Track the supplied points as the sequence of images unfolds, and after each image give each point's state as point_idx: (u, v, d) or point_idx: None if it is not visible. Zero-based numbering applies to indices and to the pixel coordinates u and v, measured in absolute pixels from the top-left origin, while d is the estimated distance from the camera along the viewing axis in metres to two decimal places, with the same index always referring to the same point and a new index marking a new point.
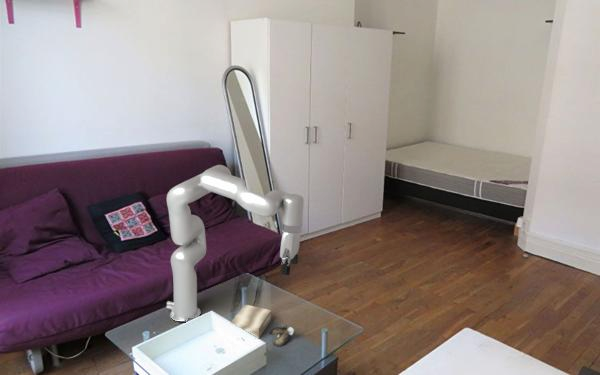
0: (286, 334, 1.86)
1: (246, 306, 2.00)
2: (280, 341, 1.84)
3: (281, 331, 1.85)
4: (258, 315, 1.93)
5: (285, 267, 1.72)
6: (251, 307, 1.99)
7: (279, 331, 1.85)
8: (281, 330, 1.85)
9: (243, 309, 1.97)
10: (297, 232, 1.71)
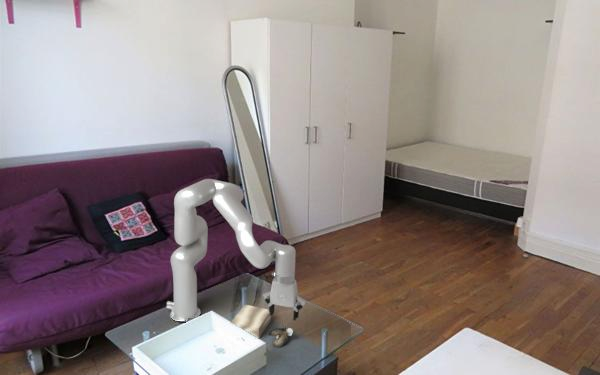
0: (285, 335, 1.85)
1: (246, 306, 2.00)
2: (279, 342, 1.83)
3: (280, 332, 1.85)
4: (258, 315, 1.93)
5: (298, 311, 1.81)
6: (251, 307, 1.99)
7: (278, 332, 1.84)
8: (280, 331, 1.84)
9: (243, 309, 1.97)
10: None
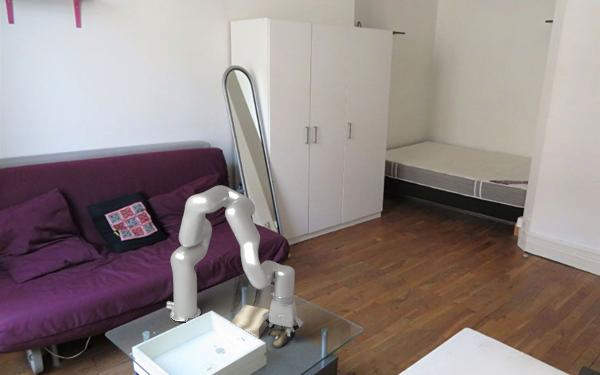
0: (284, 335, 1.85)
1: (246, 306, 2.00)
2: (279, 342, 1.82)
3: (279, 332, 1.84)
4: (258, 315, 1.93)
5: (294, 331, 1.84)
6: (251, 307, 1.99)
7: (277, 332, 1.84)
8: (279, 331, 1.84)
9: (243, 309, 1.97)
10: None
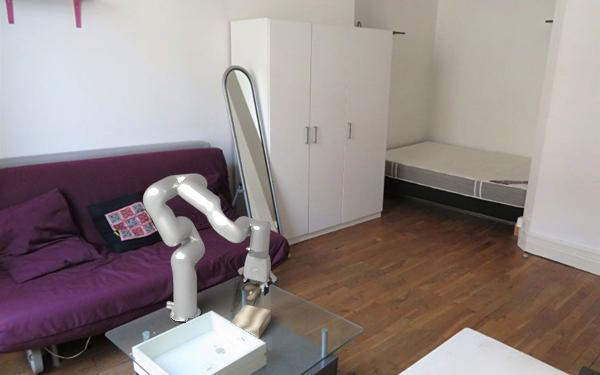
0: (258, 291, 1.87)
1: (246, 306, 2.00)
2: (252, 296, 1.84)
3: (253, 287, 1.86)
4: (258, 315, 1.93)
5: (268, 287, 1.86)
6: (251, 307, 1.99)
7: (251, 287, 1.85)
8: (253, 286, 1.86)
9: (243, 309, 1.97)
10: None
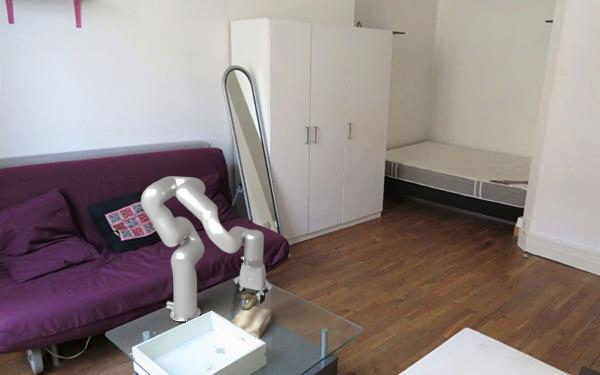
0: (255, 299, 1.89)
1: None
2: (249, 305, 1.87)
3: (250, 296, 1.89)
4: (258, 315, 1.93)
5: (264, 295, 1.89)
6: None
7: (248, 296, 1.88)
8: (250, 295, 1.88)
9: None
10: None
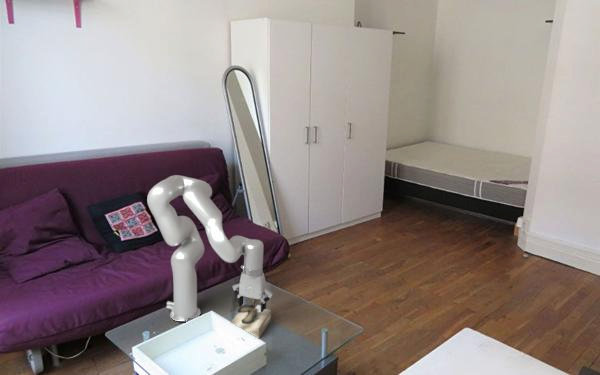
0: (254, 312, 1.91)
1: None
2: (249, 318, 1.88)
3: (249, 309, 1.90)
4: (258, 315, 1.93)
5: (265, 303, 1.90)
6: None
7: (247, 309, 1.89)
8: (249, 308, 1.90)
9: None
10: None
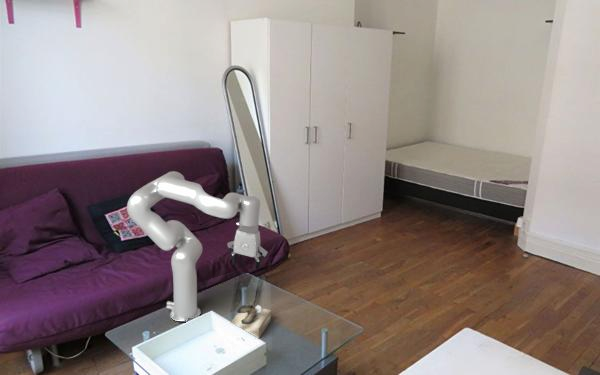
0: (254, 312, 1.90)
1: None
2: (248, 318, 1.88)
3: (249, 309, 1.90)
4: (258, 315, 1.93)
5: (259, 261, 1.88)
6: None
7: (247, 309, 1.89)
8: (249, 308, 1.89)
9: None
10: None
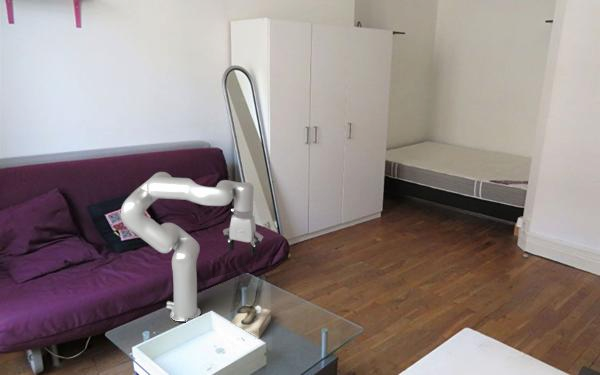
0: (254, 312, 1.90)
1: None
2: (248, 319, 1.88)
3: (249, 310, 1.89)
4: (258, 315, 1.93)
5: (256, 247, 1.90)
6: None
7: (247, 310, 1.89)
8: (249, 309, 1.89)
9: None
10: None
